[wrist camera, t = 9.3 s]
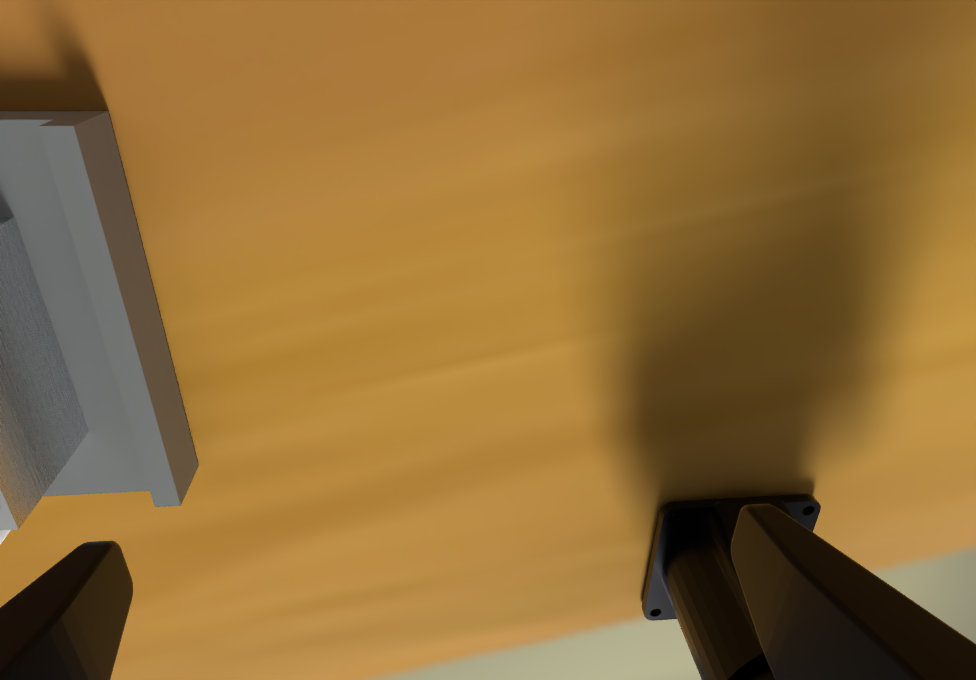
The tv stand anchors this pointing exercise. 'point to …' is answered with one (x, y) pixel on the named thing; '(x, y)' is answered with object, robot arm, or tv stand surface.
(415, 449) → the tv stand surface
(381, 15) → the tv stand surface
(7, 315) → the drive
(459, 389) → the tv stand surface
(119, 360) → the tray
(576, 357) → the tv stand surface
